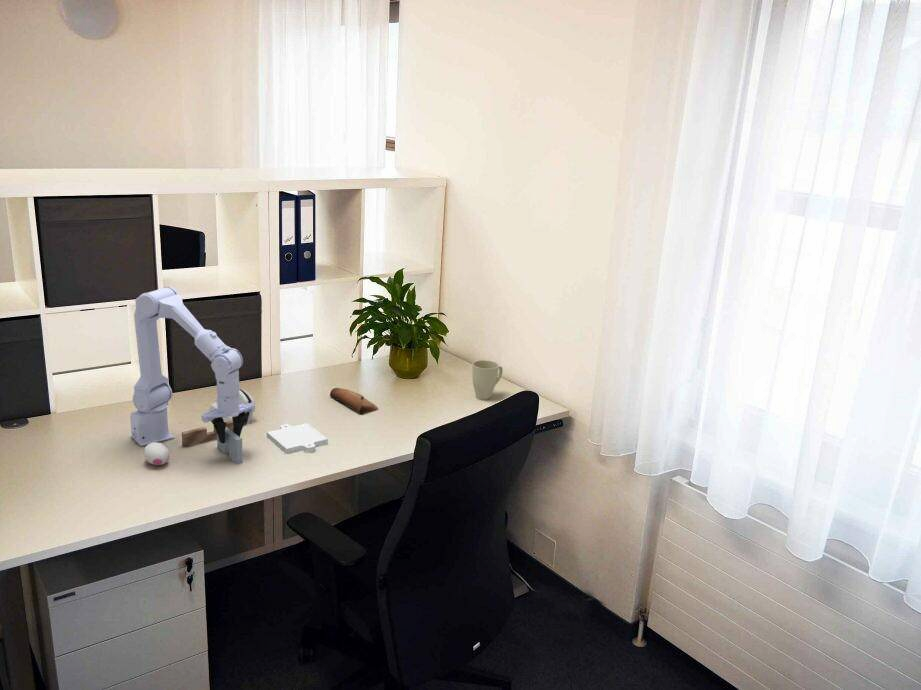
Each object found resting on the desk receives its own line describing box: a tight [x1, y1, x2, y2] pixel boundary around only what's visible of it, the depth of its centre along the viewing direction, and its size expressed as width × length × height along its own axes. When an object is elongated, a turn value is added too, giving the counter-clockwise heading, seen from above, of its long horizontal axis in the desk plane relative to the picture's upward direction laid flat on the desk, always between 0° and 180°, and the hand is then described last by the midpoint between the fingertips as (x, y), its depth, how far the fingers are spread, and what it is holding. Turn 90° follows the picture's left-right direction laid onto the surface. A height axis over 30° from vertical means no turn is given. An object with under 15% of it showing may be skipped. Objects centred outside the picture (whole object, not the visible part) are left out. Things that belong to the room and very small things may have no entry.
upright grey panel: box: [216, 427, 244, 465], centre depth 213 cm, size 2×12×7 cm, turn 42°
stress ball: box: [143, 442, 170, 467], centre depth 207 cm, size 8×8×7 cm
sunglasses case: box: [329, 387, 380, 415], centre depth 255 cm, size 18×7×7 cm
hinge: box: [209, 387, 256, 425], centre depth 239 cm, size 17×5×10 cm, turn 45°
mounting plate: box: [266, 422, 329, 455], centre depth 226 cm, size 18×13×2 cm
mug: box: [472, 359, 503, 401], centre depth 267 cm, size 11×10×12 cm
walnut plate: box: [181, 420, 233, 448], centre depth 222 cm, size 16×2×4 cm, turn 132°
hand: (229, 440), depth 213 cm, fingers open, 4 cm apart
